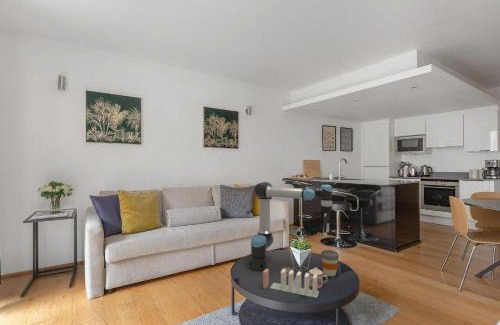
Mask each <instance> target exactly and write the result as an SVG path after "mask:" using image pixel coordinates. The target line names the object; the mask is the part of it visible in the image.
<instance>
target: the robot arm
mask: <svg viewBox="0 0 500 325" xmlns="http://www.w3.org/2000/svg"><path fill="white" fill-rule="evenodd" d="M253 194H254V195H255V197H257V200H258V201H259V229H258V230H257V234H256V235H255V234H254V235H253V236H252V237H251V240H250V259H249V262H248V268H249V270H251V271H256V272H261V271H262V272H264V270H265V269H269V262H268V259H267V250H268V248H270V247H271V246H272V245H273V243H274V236H273V232H272V230H271V200H272V199H273V198H282V199H283V198H285V199H286V198H287V199H300V200H306V201H312V200H313V199H314V198H321V200H320V205H321V206H320V210H321V212H323V214H322V215H323V218H322V219H323V221H322V226H321V228H322V237H323V238H327V237H328V233H330V224H331V221H330V212H332V210H333V209H332V208H333V206H332V204H333V201H332V200H333V196H332V195H333V188H332V185H331V184H322V185H321V186H318V187H316V186H306V187H305V188H301V187H300V188H298V187H283V186H281V187H280V186H273V185H272V183H270V182H268V181H263V182H258V183H256V184H255V185H254V187H253Z"/></svg>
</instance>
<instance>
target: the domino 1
mask: <svg viewBox="0 0 500 325" xmlns="http://www.w3.org/2000/svg"><path fill="white" fill-rule="evenodd" d="M269 275H270V269H269V268H268V269H265V270H263V271H262V289H267V288H268V286H269V285H270V284H269V283H270V279H269V278H270V276H269Z"/></svg>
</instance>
